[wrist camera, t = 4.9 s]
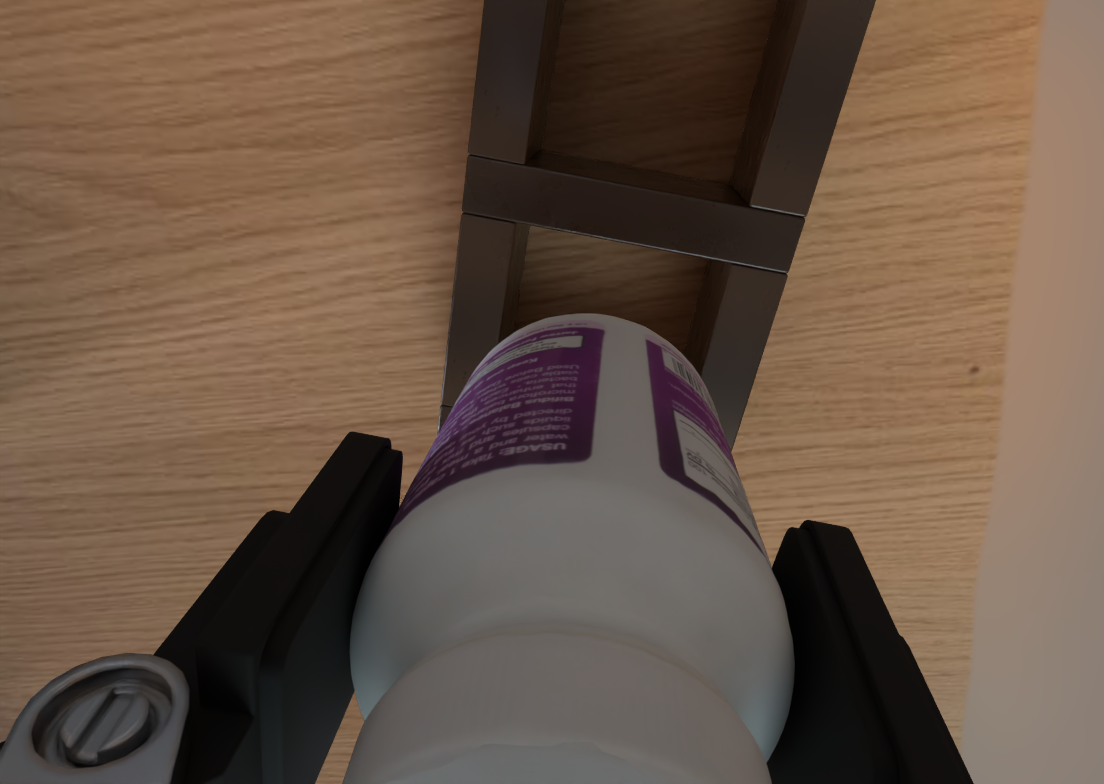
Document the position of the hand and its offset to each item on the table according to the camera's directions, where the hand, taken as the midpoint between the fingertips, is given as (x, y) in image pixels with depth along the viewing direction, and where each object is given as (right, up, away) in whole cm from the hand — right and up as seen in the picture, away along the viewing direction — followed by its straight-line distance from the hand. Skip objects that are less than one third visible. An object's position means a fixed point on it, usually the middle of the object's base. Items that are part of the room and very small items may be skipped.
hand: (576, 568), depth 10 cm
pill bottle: (0, +2, +5) cm, 5 cm away
